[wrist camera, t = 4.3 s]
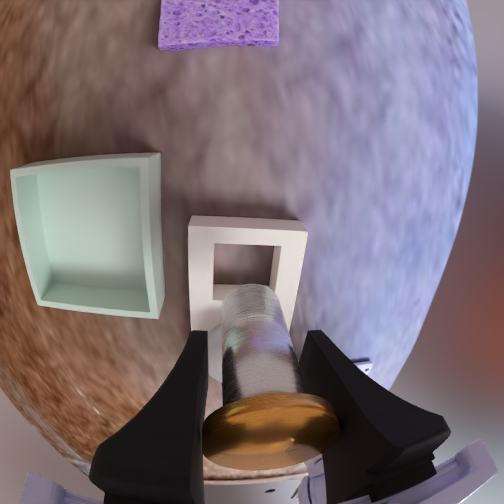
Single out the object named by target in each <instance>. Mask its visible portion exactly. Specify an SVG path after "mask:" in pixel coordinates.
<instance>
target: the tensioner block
mask: <svg viewBox="0 0 504 504" xmlns="http://www.w3.org/2000/svg"><path fill="white" fill-rule="evenodd" d="M307 235H308V231H307V229H306V228H305V227H304V226H303V224H302V223H301V222H300V221H296V220H281V219H263V218H244V217H222V216H195V215H192V216H191V219H190V222H189V225H188V266H189V298H190V319H191V331H193V330H201V331H208V374H209V375H210V376H211V377H212V378H213V379H215V380H217V381H218V382H221V383H222V339H221V307H222V302H223V300H224V298H225V296H226V295H227V294H228V293H229V292H230V291H231V290H233V289H234V288H236V287H238V286H240V285H226V284H213V275H214V243H221V244H247V245H271V246H274V252H273V260H272V268H271V276H270V283H269V286H267V285H264V286H267V287H269V288H270V289H272V290H273V291H274V292H275V293H276V295H277V296H278V298H279V301H280V305H281V308H282V311H283V315H284V318H285V321H286V324H287V328H288V331H289V330H290V325H291V320H292V315H293V311H294V306H295V301H296V296H297V291H298V285H299V280H300V275H301V269H302V264H303V258H304V253H305V247H306V241H307Z"/></svg>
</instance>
